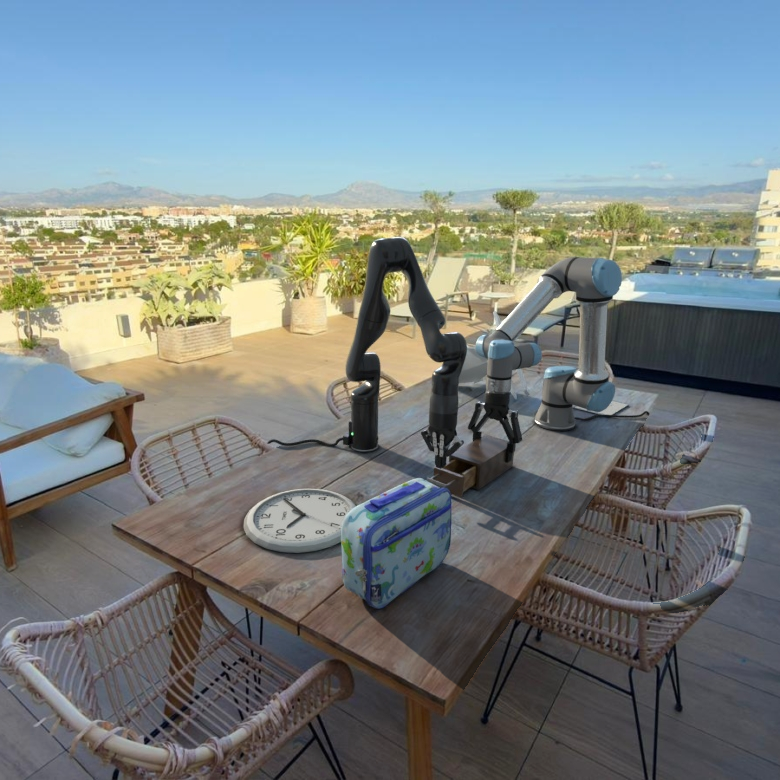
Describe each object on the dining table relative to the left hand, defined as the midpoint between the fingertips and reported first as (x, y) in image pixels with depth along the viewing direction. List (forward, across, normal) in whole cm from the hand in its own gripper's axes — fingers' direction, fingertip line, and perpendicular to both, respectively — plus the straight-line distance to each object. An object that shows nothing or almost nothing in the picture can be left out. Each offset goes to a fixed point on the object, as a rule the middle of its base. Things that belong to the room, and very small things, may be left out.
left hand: (440, 467), depth 143 cm
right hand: (+7, 0, +30) cm, 31 cm away
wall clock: (+10, -21, -32) cm, 39 cm away
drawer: (+9, 0, +11) cm, 14 cm away
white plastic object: (+11, -43, +96) cm, 105 cm away
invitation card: (+11, +7, +114) cm, 114 cm away
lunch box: (+10, +13, -35) cm, 38 cm away
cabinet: (+10, 0, +23) cm, 25 cm away
